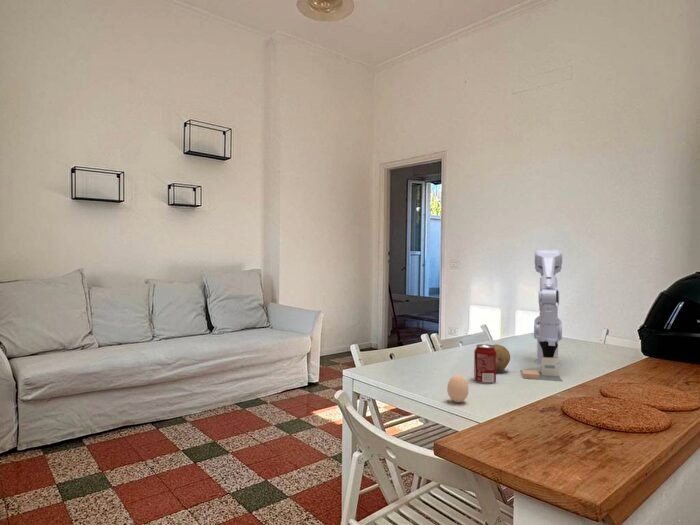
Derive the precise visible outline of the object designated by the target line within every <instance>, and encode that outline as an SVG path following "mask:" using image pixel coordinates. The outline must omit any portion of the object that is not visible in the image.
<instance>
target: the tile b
mask: <svg viewBox="0 0 700 525" xmlns="http://www.w3.org/2000/svg"><path fill="white" fill-rule="evenodd" d="M558 363H559V357H558V358H556V357H541V365H540V372H541V375H548V376H558V375H559V372H558V370H559V369H558V368H559V366H558Z"/></svg>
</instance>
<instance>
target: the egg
mask: <svg viewBox="0 0 700 525" xmlns="http://www.w3.org/2000/svg"><path fill="white" fill-rule="evenodd" d="M446 389H447V395H448V396H449V399H451V401H453V402H455V403H462V402H464V401H466V399H467V398H468V396H469V385H468V382H467V380H466V379H465V378H464V377H463V376H462V375H460V374H455V375H453V376H452V377H451V378H450V379H449V381H448V383H447V388H446Z"/></svg>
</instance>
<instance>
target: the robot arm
mask: <svg viewBox="0 0 700 525" xmlns="http://www.w3.org/2000/svg"><path fill="white" fill-rule="evenodd" d="M562 265H563V250H562V249H561V248H559V249H538V248H536V249H535V250H534V269H535V271H536V272H537V273H539V274H540V276H541V277H540V278H539V291H538V309H539V315H538V316H537V317H536V318H535V319H534V323H533V338H534V339H535V340H536V341H537V342H536V348H537V349H536V352H537V353H536V354H537V355H536V356H537V357H536V358H534V362H536V364H537V365H539V366H541V357H556V358H558V359H559V342H560V341H561V340H562V339H563V324H562V320H561V318H559V316H558V314H559V313H558V312H559V311H558V310H559V309H558V307H559V305H560V290H559V287H558V277H557V276H556V274H558V273H560V272H561V270H562ZM560 366H562V365H561V364H560V363H559V362H558V367H560Z"/></svg>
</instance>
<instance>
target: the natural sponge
mask: <svg viewBox="0 0 700 525" xmlns="http://www.w3.org/2000/svg"><path fill="white" fill-rule="evenodd" d="M492 345H493V346H494V349H495V351H496V373H502V372H503V371H504V370H505V369H506V368H507V366H508V364H509V363H510V361H511V354H510V351H509V350H508V349H507V348H506V346H503V345H501V344H492Z"/></svg>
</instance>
